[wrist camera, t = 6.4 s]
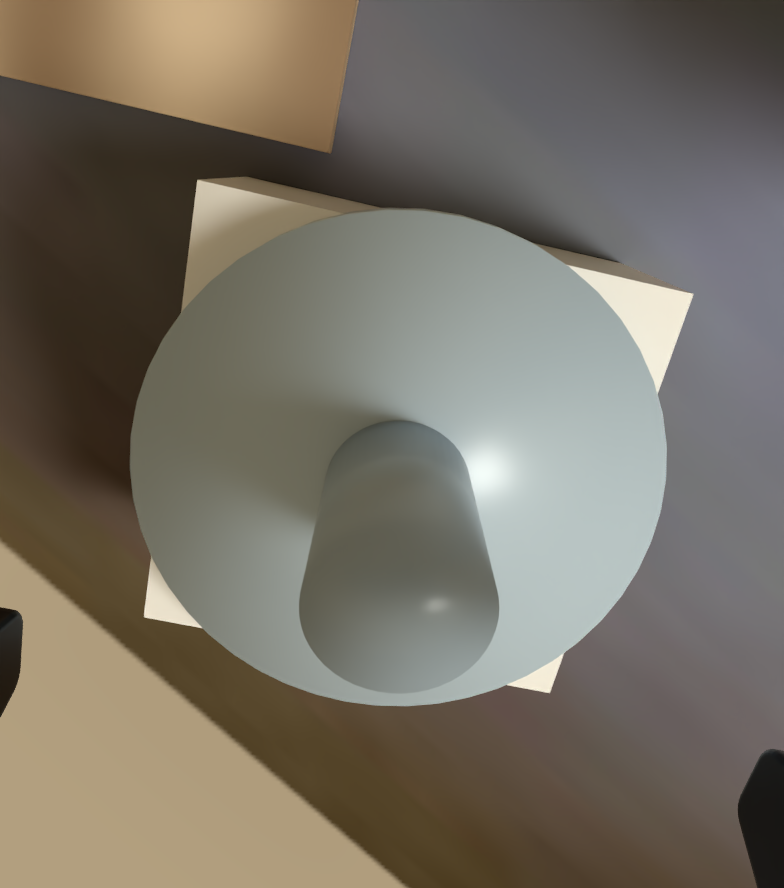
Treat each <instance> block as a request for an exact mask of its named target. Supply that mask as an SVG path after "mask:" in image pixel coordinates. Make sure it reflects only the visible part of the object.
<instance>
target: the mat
mask: <svg viewBox="0 0 784 888" xmlns="http://www.w3.org/2000/svg"><path fill="white" fill-rule="evenodd" d="M358 1H359V0H0V75H1V76H5V77H9V78H13V79H17V80H22V81H26V82H30V83H34V84H39V85H43V86H47V87H51V88H56V89H60V90H64V91H68V92H73V93H77V94H81V95H85V96H89V97H94V98H98V99H102V100H106V101H111V102H115V103H119V104H123V105H128V106H132V107H136V108H140V109H145V110H149V111H153V112H157V113H161V114H166V115H170V116H174V117H178V118H183V119H187V120H191V121H195V122H200V123H204V124H208V125H212V126H217V127H221V128H225V129H229V130H233V131H238V132H242V133H246V134H250V135H255V136H259V137H263V138H267V139H272V140H276V141H280V142H284V143H289V144H293V145H297V146H301V147H305V148H310V149H314V150H318V151H322V152H327V153H331V151H332V146H333V140H334V135H335V129H336V124H337V118H338V112H339V107H340V101H341V96H342V90H343V85H344V79H345V73H346V68H347V62H348V57H349V51H350V46H351V40H352V34H353V29H354V23H355V18H356V12H357V7H358Z"/></svg>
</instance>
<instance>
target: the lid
mask: <svg viewBox="0 0 784 888" xmlns="http://www.w3.org/2000/svg"><path fill="white" fill-rule="evenodd" d="M666 455H667V445H666V437H665V429H664V421H663V413H662V409H661V406H660V402H659V398H658V395H657V391H656V388H655V384H654V380H653V378H652V376H651V374H650V371H649V369H648V367H647V365H646V362H645V360H644V358H643V355H642V353H641V351H640V349H639V347H638V346H637V344H636V342H635V341H634V339H633V338H632V336H631V334H630V333H629V331H628V330H627V328H626V326H625V325H624V323H623V322H622V320H621V319H620V317H619V316H618V315H617V314H616V313H615V312H614V310H613V309H612V308H611V307H610V306H609V305H608V303H607V302H606V301H605V300H604V299H603V297H602V296H601V295H600V294H599V293H598V292H597V291H596V290H595V289H594V288H593V287H592V286H591V285H589V284H588V283H587V282H586V281H585V280H584V279H583V278H582V277H580V276H579V275H578V274H577V273H576V272H575V271H574V270H572V269H571V268H570V267H569V266H567V265H566V264H564V263H563V262H561V261H560V260H558V259H557V258H555V257H554V256H552V255H551V254H549V253H548V252H546V251H544V250H543V249H541V248H540V247H538V246H537V245H535V244H533V243H531V242H529V241H528V240H525V239H523V238H521V237H519V236H517V235H515V234H513V233H511V232H508V231H506V230H504V229H502V228H500V227H498V226H496V225H492V224H489V223H486V222H483V221H480V220H476V219H473V218H470V217H467V216H463V215H460V214H454V213H448V212H442V211H435V210H429V209H421V208H379V209H370V210H361V211H352V212H347V213H343V214H339V215H335V216H331V217H327V218H323V219H319V220H316V221H312V222H310V223H307V224H305V225H303V226H300V227H298V228H295V229H293V230H290V231H288V232H286V233H283V234H281V235H279V236H277V237H275V238H274V239H272V240H270V241H268V242H267V243H265V244H263V245H262V246H260V247H258V248H256V249H255V250H253V251H251V252H250V253H248V254H246V255H244V256H243V257H241V258H239V259H238V260H237V261H235V262H234V263H233V264H232V265H230V266H229V267H228V268H227V269H225V270H224V271H223V272H222V273H220V274H219V275H218V276H216V277H215V278H214V279H213V280H211V281H210V282H209V283H208V284H207V285H206V286H205V287H204V288H203V289H202V290H201V291H200V292H199V294H198V295H197V296H196V297H195V298H194V299H193V300H192V301H191V302H190V303H189V304H188V305H187V306H186V307H185V308H184V310H183V311H182V312H181V314H180V315H179V317H178V318H177V319H176V321H175V322H174V324H173V325H172V327H171V328H170V329H169V331H168V332H167V334H166V335H165V336H164V338H163V340H162V342H161V344H160V346H159V348H158V350H157V352H156V354H155V356H154V358H153V360H152V362H151V363H150V365H149V367H148V370H147V373H146V375H145V378H144V381H143V384H142V387H141V390H140V393H139V396H138V399H137V403H136V409H135V414H134V420H133V425H132V431H131V444H130V474H131V484H132V493H133V500H134V504H135V508H136V512H137V516H138V520H139V524H140V528H141V531H142V534H143V536H144V539H145V541H146V544H147V546H148V549H149V551H150V554H151V556H152V559H153V561H154V562H155V564H156V566H157V568H158V570H159V571H160V573H161V575H162V577H163V578H164V580H165V582H166V584H167V585H168V587H169V588H170V590H171V591H172V592H173V594H174V595H175V596H176V598H177V599H178V600H179V602H180V603H181V604H182V606H183V607H184V608H185V610H186V611H187V612H188V613H189V614H190V615H191V616H192V617H193V618H194V620H195V621H196V622H197V623H198V624H199V625H200V626H201V627H202V628H203V629H204V630H205V631H206V632H207V633H208V634H209V635H210V636H211V637H213V638H214V639H215V640H216V641H218V642H219V643H220V644H221V645H223V646H224V647H225V648H226V649H227V650H229V651H230V652H231V653H232V654H234V655H235V656H237V657H239V658H240V659H242V660H243V661H245V662H246V663H248V664H250V665H251V666H253V667H254V668H256V669H257V670H259V671H261V672H263V673H265V674H267V675H269V676H271V677H273V678H275V679H277V680H279V681H282V682H284V683H286V684H288V685H291V686H294V687H297V688H299V689H302V690H305V691H308V692H310V693H313V694H316V695H321V696H325V697H329V698H333V699H337V700H341V701H346V702H353V703H361V704H369V705H379V706H414V705H426V704H438V703H443V702H448V701H453V700H458V699H464V698H469V697H472V696H475V695H478V694H482V693H485V692H488V691H491V690H494V689H498V688H500V687H502V686H505V685H507V684H509V683H512V682H514V681H516V680H518V679H521V678H523V677H525V676H527V675H529V674H531V673H533V672H534V671H536V670H538V669H540V668H541V667H543V666H545V665H547V664H548V663H550V662H552V661H553V660H555V659H556V658H558V657H559V656H560V655H562V654H563V653H564V652H566V651H567V650H568V649H570V648H571V647H572V646H574V645H575V644H576V643H578V642H579V641H580V640H581V639H582V638H583V637H584V636H585V635H586V634H587V633H589V632H590V631H591V630H592V629H593V628H594V627H595V626H596V625H597V624H598V623H599V622H600V621H601V620H602V619H603V618H604V617H605V615H606V614H607V613H608V612H609V611H610V609H611V608H612V607H613V606H614V605H615V603H616V602H617V601H618V600H619V598H620V597H621V596H622V594H623V593H624V591H625V590H626V588H627V586H628V585H629V583H630V582H631V580H632V579H633V577H634V575H635V574H636V572H637V571H638V569H639V567H640V565H641V562H642V560H643V558H644V556H645V554H646V552H647V550H648V547H649V545H650V543H651V541H652V538H653V534H654V531H655V528H656V525H657V521H658V518H659V515H660V512H661V506H662V500H663V494H664V488H665V482H666Z"/></svg>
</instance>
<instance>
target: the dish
mask: <svg viewBox="0 0 784 888" xmlns="http://www.w3.org/2000/svg"><path fill="white" fill-rule="evenodd" d="M379 208H380V207H376V206H371V205H367V204H363V203H359V202H354V201H350V200H346V199H341V198H337V197H333V196H328V195H324V194H320V193H315V192H311V191H307V190H302V189H298V188H294V187H290V186H285V185H281V184H277V183H272V182H268V181H264V180H259V179H255V178H251V177H231V178H216V179H201V180H197V187H196V195H195V203H194V211H193V219H192V228H191V236H190V244H189V252H188V260H187V268H186V277H185V285H184V293H183V301H182V309H181V312H182V311H183V310H184V308H185V307H186V306H187V305H188V304H189V303H190V302H191V301H192V300H193V299H194V298H195V297H196V296H197V295H198V294H199V292H200V291H201V290H202V289H203V288H204V287H205V286H206V285H207V284H208V283H209V282H210V281H211V280H213V279H214V278H215V277H216V276H218V275H219V274H220V273H222V272H223V271H224V270H225V269H227V268H228V267H229V266H230V265H232V264H233V263H234V262H235V261H237V260H238V259H239V258H241V257H243V256H244V255H246V254H248V253H250V252H251V251H253V250H255V249H256V248H258V247H260V246H262V245H263V244H265V243H267V242H268V241H270V240H272V239H274V238H275V237H277V236H279V235H281V234H283V233H286V232H288V231H290V230H293V229H295V228H298V227H300V226H303V225H305V224H307V223H310V222H312V221H316V220H319V219H323V218H327V217H331V216H335V215H339V214H343V213H347V212H352V211H361V210H370V209H379ZM533 244H535V243H533ZM535 245H537V246H538V247H540V248H541V249H543V250H544V251H546V252H548V253H549V254H551V255H552V256H554V257H555V258H557V259H558V260H560V261H561V262H563V263H564V264H566V265H567V266H569V267H570V268H571V269H572V270H574V271H575V272H576V273H577V274H578V275H579V276H580V277H582V278H583V279H584V280H585V281H586V282H587V283H588V284H589V285H591V286H592V287H593V288H594V289H595V290H596V291H597V292H598V293H599V294H600V295H601V296H602V297H603V299H604V300H605V301H606V302H607V303H608V305H609V306H610V307H611V308H612V309H613V310H614V312H615V313H616V314H617V315H618V316H619V317H620V319H621V320H622V322H623V323H624V325H625V326H626V328H627V330H628V331H629V333H630V334H631V336H632V338H633V339H634V341H635V342H636V344H637V346H638V347H639V349H640V351H641V353H642V355H643V358H644V360H645V362H646V365H647V367H648V369H649V371H650V374H651V376H652V378H653V380H654V384H655V388H656V391H657V394H658V391H659V388H660V386H661V383H662V380H663V377H664V374H665V372H666V369H667V366H668V363H669V361H670V358H671V355H672V352H673V350H674V347H675V344H676V341H677V338H678V336H679V333H680V330H681V327H682V325H683V322H684V319H685V316H686V313H687V311H688V308H689V305H690V302H691V300H692V297H693V294H692V293H690V292H687V291H685V290H683V289H680V288H678V287H676V286H673V285H671V284H669V283H666V282H664V281H662V280H659V279H657V278H655V277H652V276H650V275H648V274H645V273H643V272H641V271H638V270H636V269H634V268H631V267H629V266H627V265H624V264H622V263H617V262H613V261H609V260H604V259H600V258H596V257H591V256H587V255H583V254H578V253H574V252H570V251H566V250H561V249H557V248H553V247H548V246H544V245H540V244H535ZM144 617H146V618H151V619H156V620H162V621H167V622H172V623H178V624H183V625H188V626H194V627H199V628H202V627H201V626H200V625H199V624H198V623H197V622H196V621H195V620H194V618H193V617H192V616H191V615H190V614H189V613H188V612H187V611H186V610H185V608H184V607H183V606H182V604H181V603H180V602H179V600H178V599H177V598H176V596H175V595H174V594H173V592H172V591H171V590H170V588H169V587H168V585H167V584H166V582H165V580H164V578H163V577H162V575H161V573H160V571H159V570H158V568H157V566H156V564H155V562H154V561H153V559H152V556H151V563H150V571H149V579H148V587H147V596H146V604H145V612H144ZM563 655H564V653H563V654H562V655H560V656H559V657H558V658H556V659H555V660H553V661H552V662H550V663H548V664H547V665H545V666H543V667H541V668H540V669H538V670H536V671H534V672H533V673H531V674H529V675H527V676H525V677H523V678H521V679H518V680H516V681H514V682H512V683H509V684H507V685H510V686H515V687H520V688H526V689H531V690H536V691H542V692H547V693H550V691H551V688H552V685H553V682H554V680H555V677H556V674H557V671H558V668H559V666H560V663H561V660H562V657H563Z"/></svg>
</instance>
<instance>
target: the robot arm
mask: <svg viewBox="0 0 784 888" xmlns="http://www.w3.org/2000/svg"><path fill="white" fill-rule="evenodd" d="M22 630H23V620H22V616H21V615H20V613H19V612H18V611H16V610H12V609H6V608H1V607H0V717H1V715H2V713H3V712H4V710H5V708H6V706H7V703H8V702H9V700H10V698H11V696H12V694H13V692H14V690H15V688H16V685H17V682H18V678H19V674H20V666H21V665H20V664H21V647H22ZM738 817H739V822H740V826H741V830H742V833H743V837H744V841H745V844H746V848H747V851H748V855H749V859H750V862H751V866H752V870H753V873H754V877H755V880H756V884H757V888H784V751H781V750H776V749H770V750H766V751H765V752H764V753H762V754H761V756H760V757H759V759H758V761H757V763H756V765H755V767H754V769H753V771H752V773H751V775H750V777H749V779H748V781H747V783H746V786H745V788H744V790H743V792H742V794H741V796H740V798H739V803H738Z"/></svg>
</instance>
